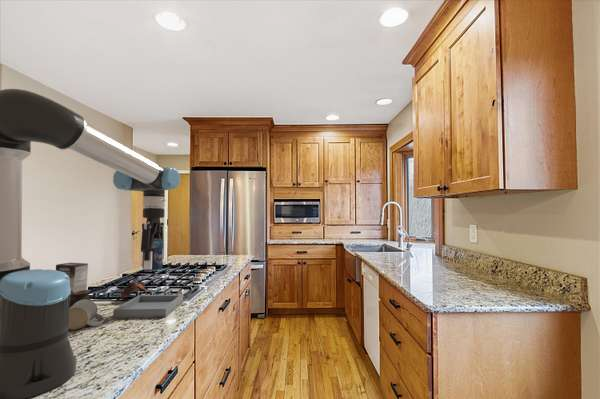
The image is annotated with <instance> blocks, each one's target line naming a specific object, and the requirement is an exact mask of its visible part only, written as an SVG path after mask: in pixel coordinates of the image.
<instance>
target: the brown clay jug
mask: <svg viewBox="0 0 600 399" xmlns="http://www.w3.org/2000/svg"><path fill="white" fill-rule="evenodd" d="M145 286H146V285H145V283H144V282H140V281H139V282H137V281H135V282H134V281H133V282H132V283H129V284H128V285H126V286H125V287H123V289H122V290H120V291H119V294H120V298H121V299H122V300H126V298H127V297H131V296H132V295H131V294H132V293H137V292H138V291H144V292H145V293H144V294H146V293H147V289H146V288H145Z"/></svg>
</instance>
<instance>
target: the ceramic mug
mask: <svg viewBox="0 0 600 399" xmlns="http://www.w3.org/2000/svg"><path fill="white" fill-rule="evenodd" d="M98 310H99V309H98V306H97V304H96V303H95V301H93V300H92V299H91V300H86V299H84V300H80V301H78V302H76V303H75V304H74V305H73V306H72V307H70V308H69V324H68V330H71V331H77V330H79V329H82V328H83V327H85V326H87V325H88V326H91V327H98V326H101V325H103V323H104V321H105V317H104V316H103V315H102V314H100V313H98ZM93 319H97V320H99V321H95V320H93Z"/></svg>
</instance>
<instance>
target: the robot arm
mask: <svg viewBox="0 0 600 399" xmlns="http://www.w3.org/2000/svg"><path fill="white" fill-rule="evenodd" d="M31 142H33V143H40V144H45V145H46V144H47V145H50V146H53V147H55V148H57V149H60V150H62V151H63V150H68V149H70V150H71V151H74V152H76V153H79V154H80V155H83V156H85V157H86V158H89V159H92V161H95V162H97V163H99V164H102V165H104V166H107V167H108V168H111V169H113V170H115V172H114V173H113V176H112V178H113V179H112V184H113V185H114V187H116V189H117V190H122V191H126V192H127V191H129V192H130V191H131V192H133V191H134V192H142V195H143V196H142V207H144V208H143V209H142V218H144V219H146V222H145V223H142V224H141V230H142V231H141V239H140V240H141V242H140V252H141V253H143V252H144V269H152V252H151V248H152V243H153V238H161V240H162V242H163V249H164V224H165V222H162V221H161V219H164V217H165V209H164V207H165V203H166V201H167V200H166V199H165V196H166V195H165V194H166V191H168V190H169V191H170V190H175V189H177V188H178V187H179V185H180V182H181V176H180V172H179V171H178V170H177V169H176V168H174V167H168V166H167V167H163V166H161V165H159V164H157V162H154V161H152V160H151V159H149V158H147V157H145V156H143V155H142V154H140V153H138V152H137V151H135V150H133V149H131V148H130V147H128V146H126V145H125V144H123V143H121V142H119V141H117V140H116V139H114V138H112V137H111V136H109V135H107V134H105V133H103V132H102V131H100V130H98V129H96V128H95V127H93V126H91V125H89V124H88V123H86V119H85V118H84V116H82V115H81V114H79V113H77V112H75V111H74V110H72V109H70V108H68V107H66V106H64V105H62V104H61V103H59V102H57V101H54V100H52V99H50V98H49V97H45V96H44V95H41V94H38V93H36V92H33V91H30V90H25V89H20V88H19V89H18V88H5V89H0V399H28V398H33V397H34V396H39V395H41V394H43V393H46V392H49V391H51V390H53V389H55V388H57V387H59V386H61V385H62V384H65V382H67V381H68V380H70V379H71V378H72V377H73V376H74V375H75V374H76V372H77V358H76V356H75V355H74V351H73V348H72V345H71V343H70V340H69V329H68V324H69V302H70V293H71V287H70V279H69V276H68V275H67V274H66V273H64V272H61V271H57V270H56V269H41V268H40V269H39V268H38V269H31V263H30V262H29V261H28V260H26V259H25V258H23V256H22V251H23V250H22V247H23V242H22V239H23V238H22V237H23V236H22V234H23V232H22V231H23V161H24V159H26V158H28V157H29V156H30V155H31V153H32V152H31V148H32V147H31V146H32V145H31ZM144 269H143V270H144Z"/></svg>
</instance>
